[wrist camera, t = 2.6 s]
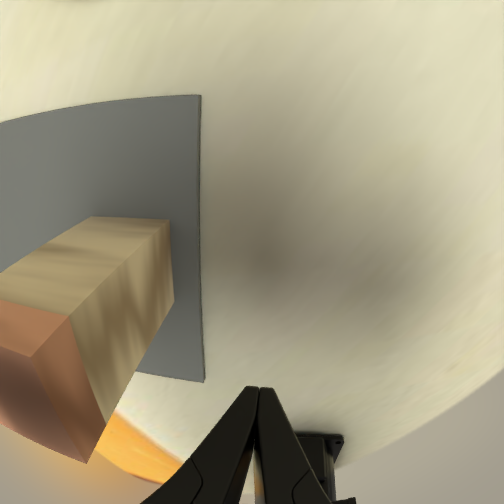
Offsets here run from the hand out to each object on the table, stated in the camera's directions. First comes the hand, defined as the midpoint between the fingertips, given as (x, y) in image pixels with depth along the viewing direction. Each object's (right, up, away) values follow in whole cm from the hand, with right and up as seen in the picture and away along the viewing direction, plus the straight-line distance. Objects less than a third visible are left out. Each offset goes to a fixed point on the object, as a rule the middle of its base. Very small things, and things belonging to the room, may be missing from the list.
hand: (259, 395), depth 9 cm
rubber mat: (-12, +5, +9) cm, 16 cm away
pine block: (-7, +4, +9) cm, 12 cm away
